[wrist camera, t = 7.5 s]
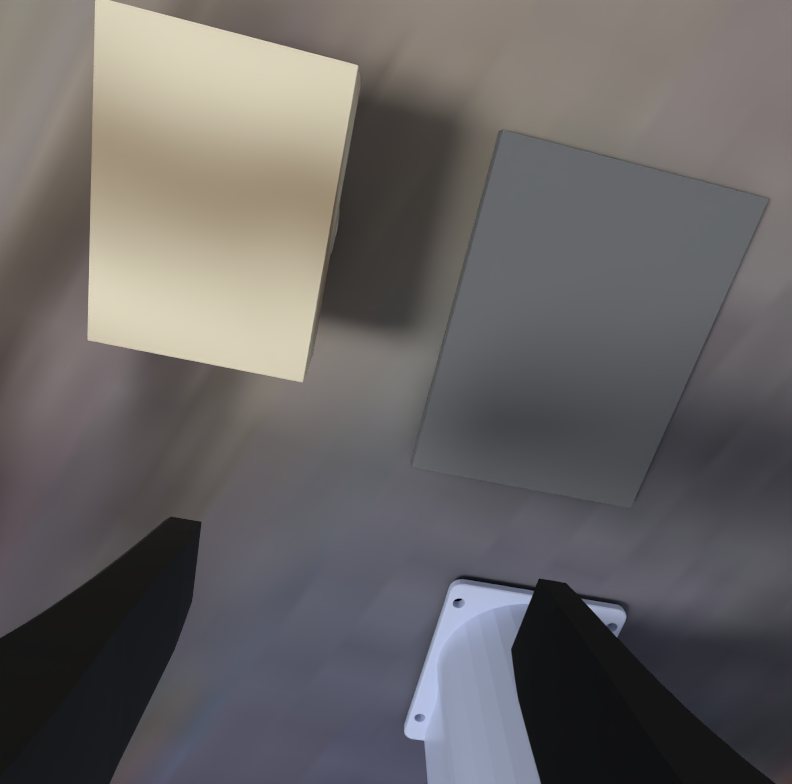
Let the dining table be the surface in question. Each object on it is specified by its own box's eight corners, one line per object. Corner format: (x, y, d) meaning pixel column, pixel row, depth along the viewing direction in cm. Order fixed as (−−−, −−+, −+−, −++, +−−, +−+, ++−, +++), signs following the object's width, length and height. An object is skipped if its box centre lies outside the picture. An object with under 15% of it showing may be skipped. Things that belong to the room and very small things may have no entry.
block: (312, 354, 17) (302, 382, 15) (127, 317, 16) (87, 339, 14) (361, 81, 14) (358, 65, 12) (141, 25, 14) (95, -4, 11)
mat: (624, 500, 23) (630, 508, 22) (411, 460, 22) (411, 467, 21) (757, 197, 18) (769, 198, 18) (499, 130, 18) (503, 129, 17)
